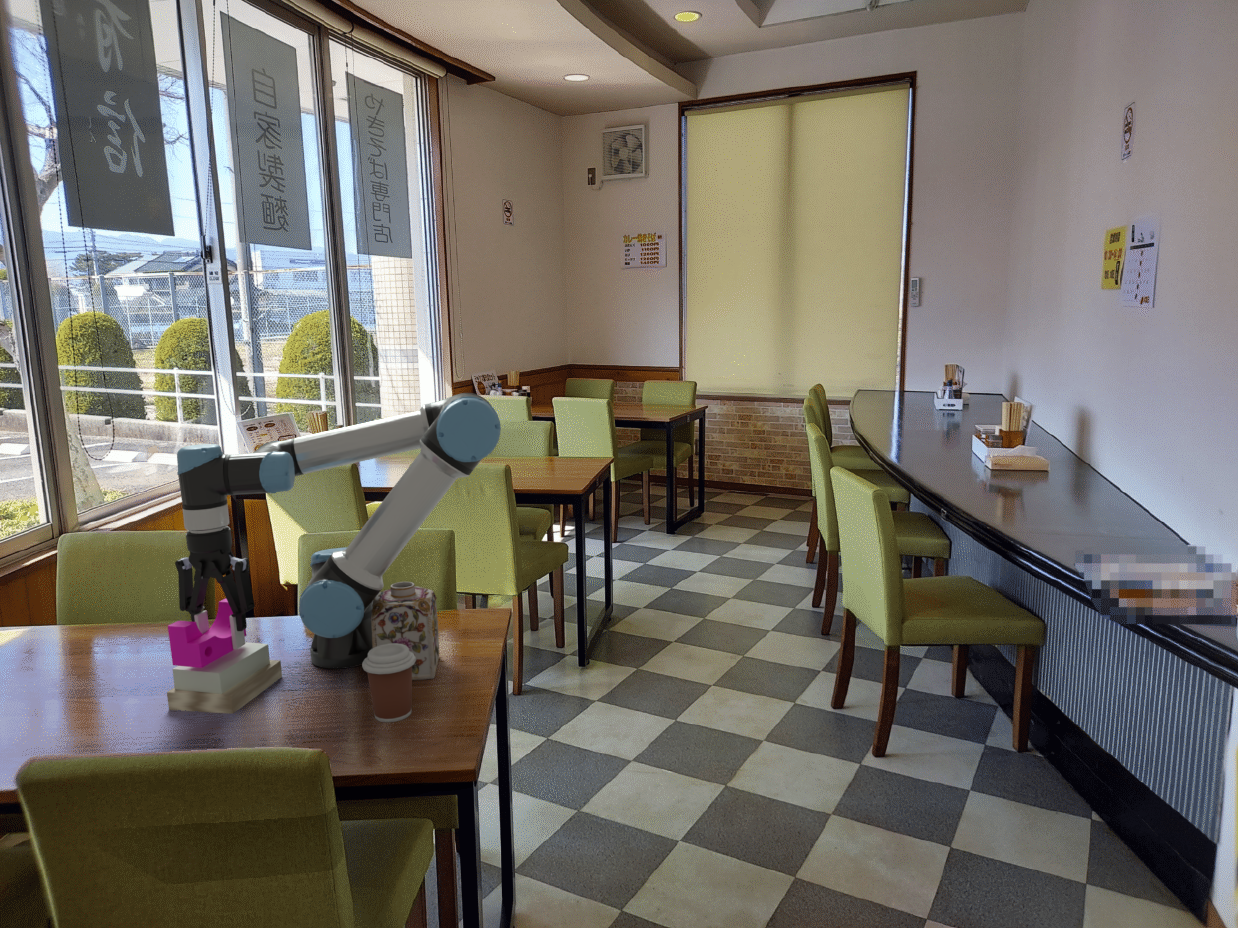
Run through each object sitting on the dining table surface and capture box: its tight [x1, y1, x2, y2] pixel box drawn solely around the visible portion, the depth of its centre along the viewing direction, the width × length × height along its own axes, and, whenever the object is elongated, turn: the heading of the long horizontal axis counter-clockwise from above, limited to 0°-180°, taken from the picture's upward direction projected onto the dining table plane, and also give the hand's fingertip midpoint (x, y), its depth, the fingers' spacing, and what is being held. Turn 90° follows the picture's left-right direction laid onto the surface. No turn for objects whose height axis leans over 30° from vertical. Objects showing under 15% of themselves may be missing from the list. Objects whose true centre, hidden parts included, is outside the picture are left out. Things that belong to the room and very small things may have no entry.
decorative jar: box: [370, 581, 440, 681], centre depth 168 cm, size 12×12×18 cm
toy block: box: [167, 598, 247, 668], centre depth 158 cm, size 15×6×8 cm, turn 165°
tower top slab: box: [172, 641, 271, 694], centre depth 160 cm, size 10×14×4 cm
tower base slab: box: [166, 659, 283, 715], centre depth 161 cm, size 13×16×4 cm
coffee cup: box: [361, 643, 416, 723], centre depth 150 cm, size 9×9×12 cm
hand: (221, 645), depth 160 cm, fingers closed on toy block, 7 cm apart
